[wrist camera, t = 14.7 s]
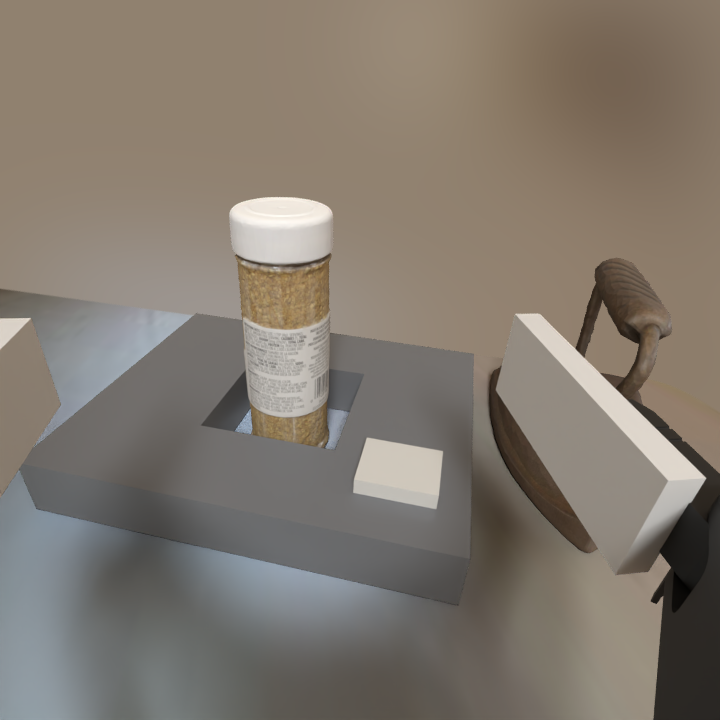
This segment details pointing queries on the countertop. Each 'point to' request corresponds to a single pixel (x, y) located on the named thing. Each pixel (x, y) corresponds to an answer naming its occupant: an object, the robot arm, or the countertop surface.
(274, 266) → the sprinkles bottle
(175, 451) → the socket plate
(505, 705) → the countertop surface
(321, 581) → the countertop surface
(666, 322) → the clothes iron
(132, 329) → the countertop surface
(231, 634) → the countertop surface
